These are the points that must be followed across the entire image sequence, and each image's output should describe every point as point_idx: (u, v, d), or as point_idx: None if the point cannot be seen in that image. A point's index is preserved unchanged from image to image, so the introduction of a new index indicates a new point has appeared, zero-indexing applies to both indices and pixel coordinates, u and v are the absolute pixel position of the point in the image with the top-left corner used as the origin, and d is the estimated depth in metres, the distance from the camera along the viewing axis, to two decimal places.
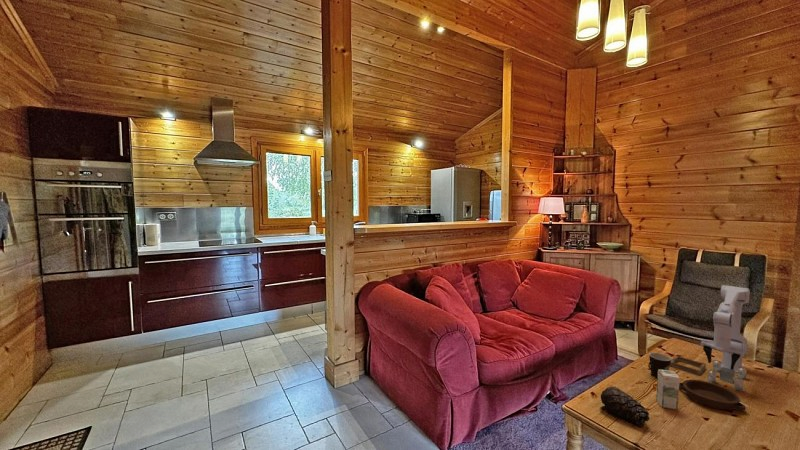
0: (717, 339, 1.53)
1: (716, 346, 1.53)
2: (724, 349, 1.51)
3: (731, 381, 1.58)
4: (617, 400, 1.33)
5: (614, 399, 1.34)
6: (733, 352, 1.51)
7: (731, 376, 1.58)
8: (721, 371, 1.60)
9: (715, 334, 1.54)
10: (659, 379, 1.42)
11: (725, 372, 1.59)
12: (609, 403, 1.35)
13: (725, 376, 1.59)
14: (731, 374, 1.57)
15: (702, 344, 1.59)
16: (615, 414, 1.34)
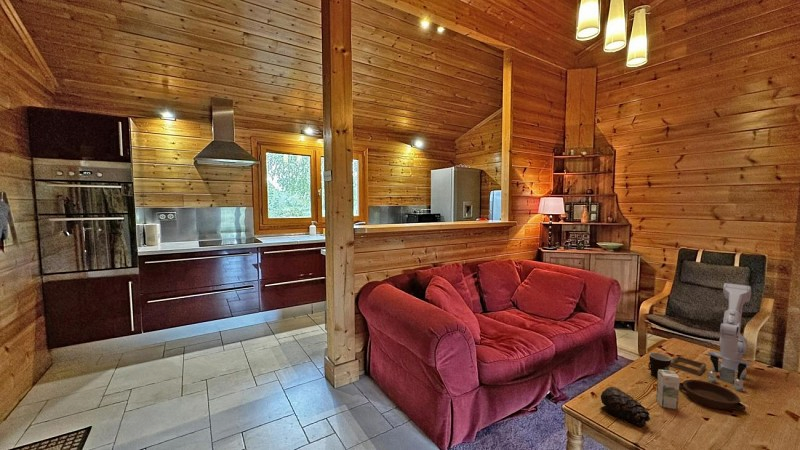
0: (724, 349, 1.59)
1: (723, 356, 1.59)
2: (731, 359, 1.57)
3: (731, 381, 1.58)
4: (617, 400, 1.32)
5: (614, 400, 1.33)
6: None
7: (731, 376, 1.57)
8: (721, 371, 1.60)
9: (722, 345, 1.60)
10: (659, 379, 1.42)
11: (725, 372, 1.59)
12: (609, 403, 1.34)
13: (725, 376, 1.59)
14: (731, 374, 1.57)
15: (709, 354, 1.64)
16: (615, 414, 1.33)
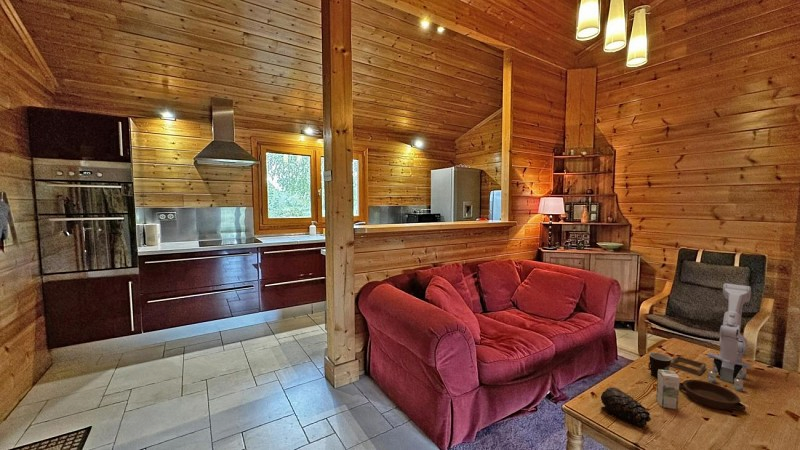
0: (724, 351, 1.59)
1: (723, 358, 1.59)
2: (730, 361, 1.57)
3: (731, 381, 1.58)
4: (618, 401, 1.32)
5: (614, 400, 1.33)
6: None
7: (731, 376, 1.57)
8: (721, 371, 1.60)
9: (722, 347, 1.60)
10: (659, 379, 1.42)
11: (725, 372, 1.59)
12: (610, 404, 1.34)
13: (725, 376, 1.59)
14: (731, 374, 1.57)
15: (709, 356, 1.65)
16: (616, 415, 1.33)
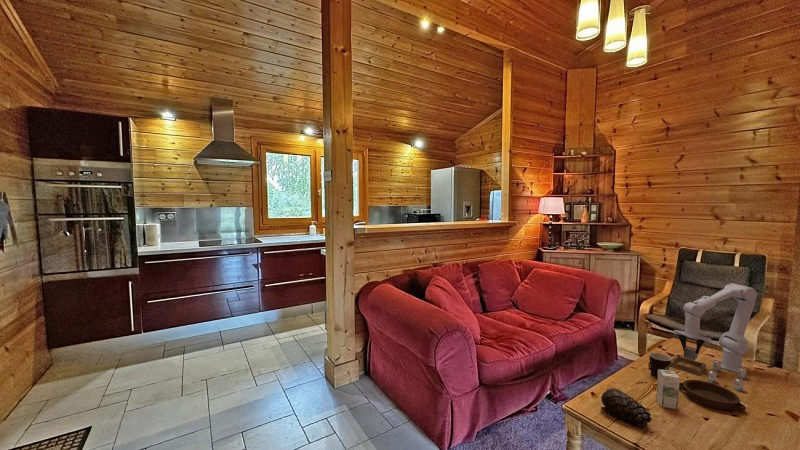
0: (687, 327, 1.70)
1: (686, 334, 1.70)
2: (693, 336, 1.68)
3: (693, 358, 1.68)
4: (619, 402, 1.32)
5: (615, 401, 1.33)
6: (701, 339, 1.67)
7: (693, 354, 1.68)
8: (685, 349, 1.71)
9: (685, 322, 1.72)
10: (659, 379, 1.42)
11: (688, 350, 1.70)
12: (611, 405, 1.33)
13: (688, 354, 1.70)
14: (693, 352, 1.68)
15: (675, 332, 1.75)
16: (617, 416, 1.33)
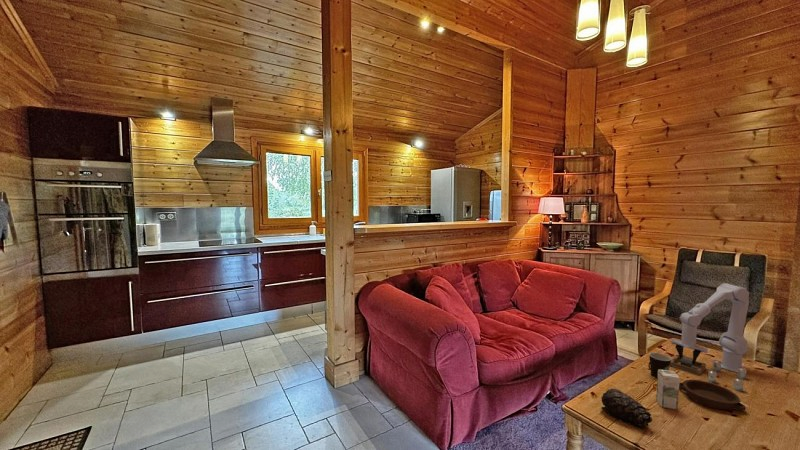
0: (684, 337, 1.71)
1: (683, 344, 1.71)
2: (690, 346, 1.69)
3: None
4: (619, 402, 1.31)
5: (616, 402, 1.32)
6: None
7: (690, 364, 1.69)
8: (681, 359, 1.72)
9: None
10: (659, 379, 1.42)
11: (685, 360, 1.71)
12: (611, 405, 1.33)
13: (685, 364, 1.71)
14: (690, 362, 1.69)
15: (672, 342, 1.76)
16: (617, 416, 1.32)
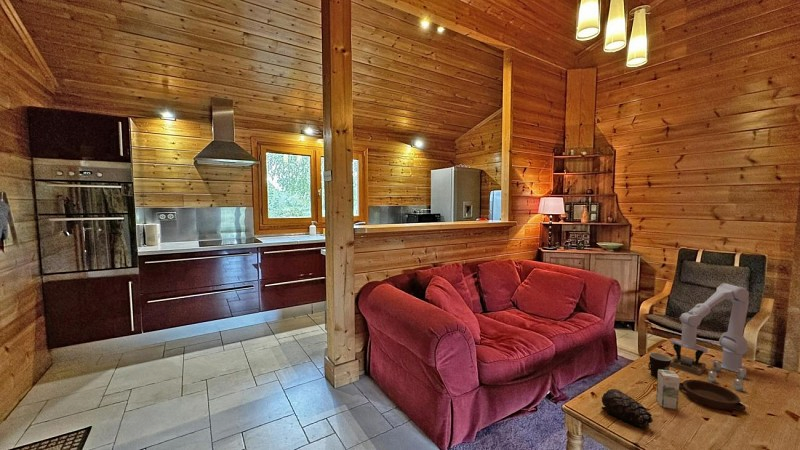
0: (684, 338, 1.71)
1: (683, 344, 1.71)
2: (690, 347, 1.69)
3: None
4: (620, 403, 1.31)
5: (616, 402, 1.32)
6: None
7: (690, 364, 1.69)
8: (681, 360, 1.72)
9: None
10: (659, 379, 1.42)
11: (685, 361, 1.71)
12: (611, 406, 1.33)
13: (685, 364, 1.71)
14: (690, 362, 1.69)
15: (671, 342, 1.76)
16: (618, 417, 1.32)
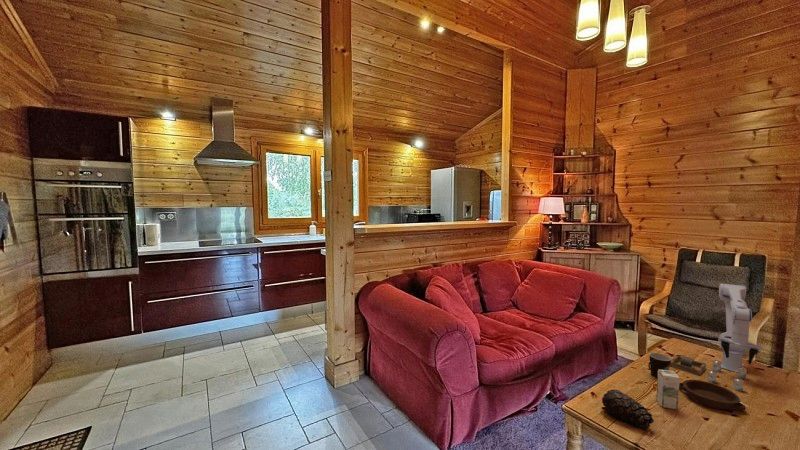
0: (735, 334, 1.58)
1: (734, 341, 1.58)
2: (742, 344, 1.56)
3: None
4: (620, 403, 1.31)
5: (617, 403, 1.31)
6: (751, 347, 1.56)
7: (690, 364, 1.69)
8: (681, 360, 1.72)
9: (734, 330, 1.58)
10: (659, 379, 1.42)
11: (685, 361, 1.71)
12: (612, 407, 1.32)
13: (685, 364, 1.71)
14: (690, 362, 1.69)
15: (720, 339, 1.64)
16: (618, 418, 1.32)
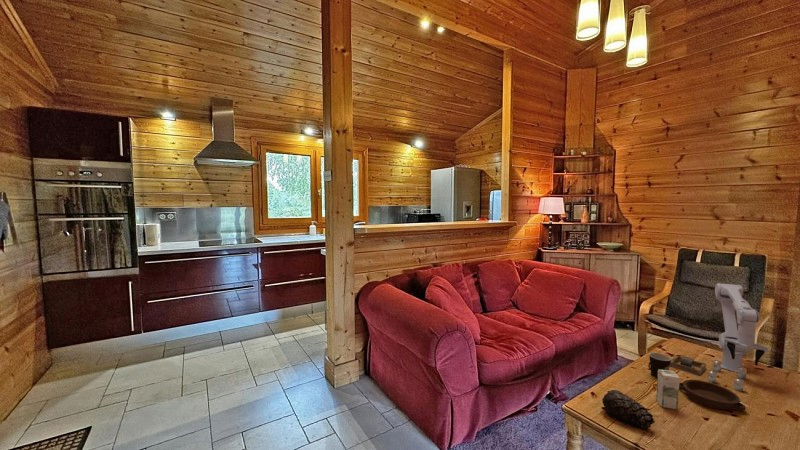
0: (741, 336, 1.57)
1: (740, 342, 1.57)
2: (748, 345, 1.55)
3: None
4: (621, 404, 1.30)
5: (617, 403, 1.31)
6: None
7: (690, 364, 1.69)
8: (681, 360, 1.72)
9: (742, 332, 1.57)
10: (659, 379, 1.42)
11: (685, 361, 1.71)
12: (613, 407, 1.32)
13: (685, 364, 1.71)
14: (690, 362, 1.69)
15: (726, 341, 1.62)
16: (619, 418, 1.31)
